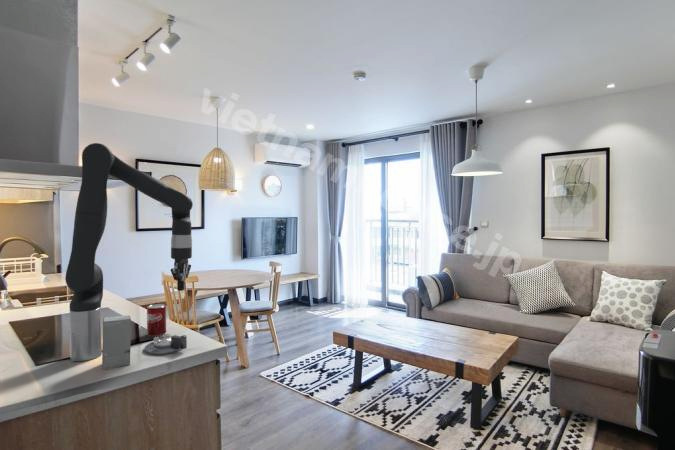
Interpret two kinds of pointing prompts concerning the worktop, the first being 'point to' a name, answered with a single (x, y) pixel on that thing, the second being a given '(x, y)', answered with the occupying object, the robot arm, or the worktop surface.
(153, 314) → the soda can
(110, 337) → the skincare box
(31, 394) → the worktop surface
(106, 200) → the robot arm
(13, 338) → the worktop surface
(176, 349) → the cap plate
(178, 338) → the small handled pan
